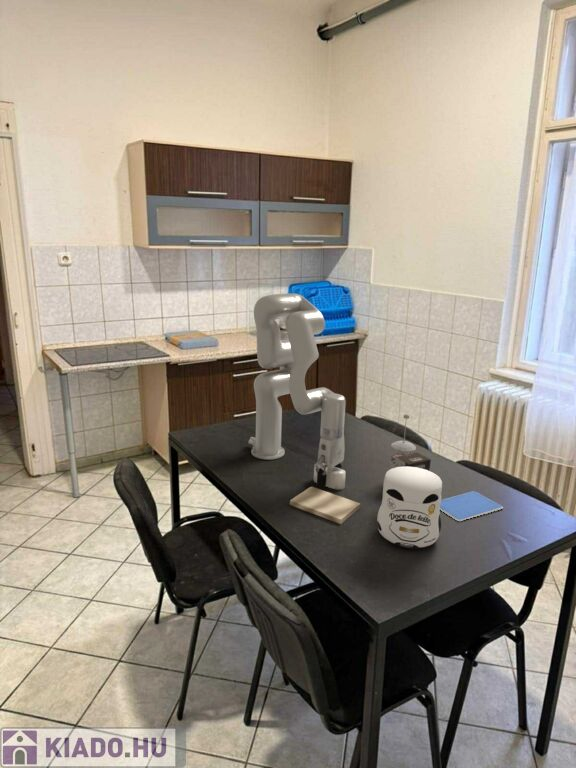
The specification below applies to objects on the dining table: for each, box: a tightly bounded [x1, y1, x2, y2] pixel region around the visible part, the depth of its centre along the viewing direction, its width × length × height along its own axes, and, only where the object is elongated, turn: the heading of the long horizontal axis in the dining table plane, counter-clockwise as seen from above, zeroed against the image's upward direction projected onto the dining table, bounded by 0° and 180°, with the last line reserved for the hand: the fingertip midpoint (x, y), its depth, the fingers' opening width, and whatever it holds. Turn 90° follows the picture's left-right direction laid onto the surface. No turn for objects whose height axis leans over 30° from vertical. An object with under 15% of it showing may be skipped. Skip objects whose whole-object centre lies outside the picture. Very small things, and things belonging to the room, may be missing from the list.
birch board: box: [289, 486, 361, 525], centre depth 165 cm, size 18×12×2 cm, turn 55°
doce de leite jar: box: [376, 466, 443, 550], centre depth 148 cm, size 17×17×18 cm
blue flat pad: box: [440, 490, 504, 522], centre depth 168 cm, size 19×13×1 cm, turn 118°
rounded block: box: [313, 463, 347, 491], centre depth 179 cm, size 11×4×6 cm, turn 55°
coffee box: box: [394, 452, 432, 471], centre depth 166 cm, size 9×6×16 cm
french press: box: [388, 413, 417, 471], centre depth 179 cm, size 10×12×25 cm
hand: (329, 479), depth 180 cm, fingers open, 9 cm apart
